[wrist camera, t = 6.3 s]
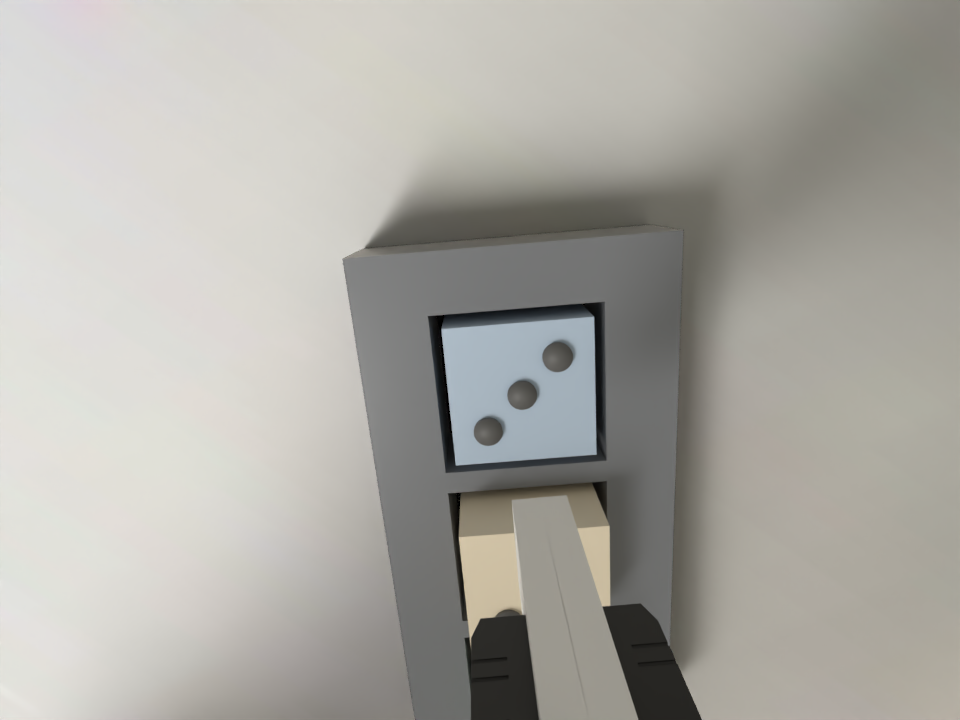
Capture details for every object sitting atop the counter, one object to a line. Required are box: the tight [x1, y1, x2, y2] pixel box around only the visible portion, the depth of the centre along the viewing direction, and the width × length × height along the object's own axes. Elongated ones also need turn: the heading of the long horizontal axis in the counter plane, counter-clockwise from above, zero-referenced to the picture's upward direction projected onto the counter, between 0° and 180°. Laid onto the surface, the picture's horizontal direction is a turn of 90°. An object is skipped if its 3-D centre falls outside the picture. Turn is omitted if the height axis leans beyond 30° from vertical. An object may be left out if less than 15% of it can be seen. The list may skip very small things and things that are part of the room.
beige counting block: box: [459, 482, 610, 645], centre depth 24 cm, size 6×6×4 cm
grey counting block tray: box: [343, 225, 684, 720], centre depth 26 cm, size 13×28×4 cm, turn 5°
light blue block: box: [441, 304, 597, 465], centre depth 23 cm, size 6×6×4 cm
